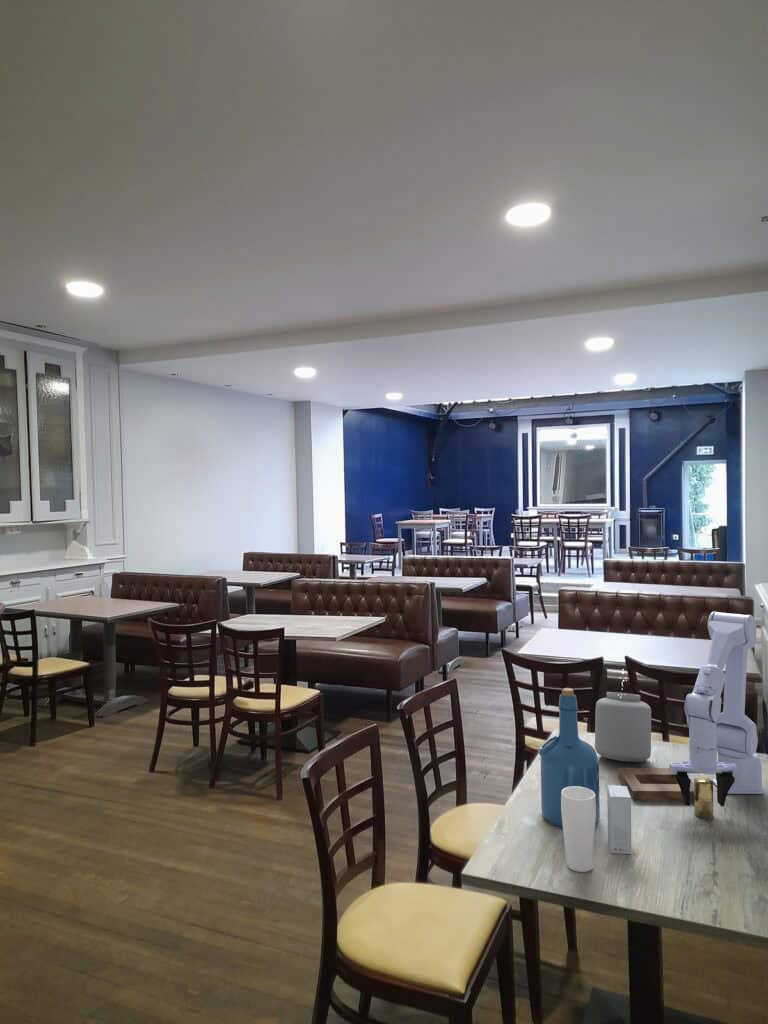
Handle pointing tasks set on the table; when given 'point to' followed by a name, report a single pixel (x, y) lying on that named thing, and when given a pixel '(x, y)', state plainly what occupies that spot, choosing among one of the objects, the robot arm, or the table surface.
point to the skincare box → (619, 819)
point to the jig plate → (652, 784)
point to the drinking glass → (578, 826)
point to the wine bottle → (566, 762)
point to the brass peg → (703, 798)
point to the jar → (623, 727)
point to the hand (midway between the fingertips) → (703, 804)
